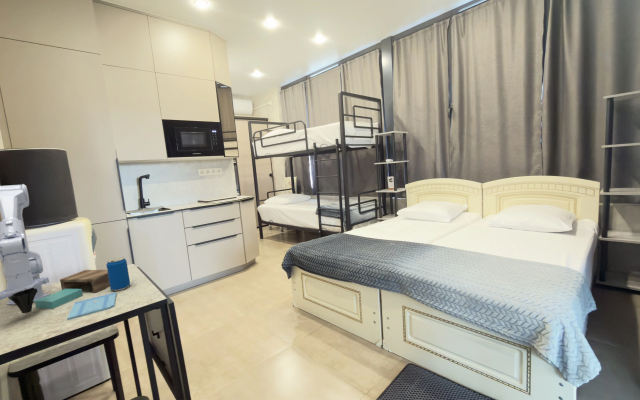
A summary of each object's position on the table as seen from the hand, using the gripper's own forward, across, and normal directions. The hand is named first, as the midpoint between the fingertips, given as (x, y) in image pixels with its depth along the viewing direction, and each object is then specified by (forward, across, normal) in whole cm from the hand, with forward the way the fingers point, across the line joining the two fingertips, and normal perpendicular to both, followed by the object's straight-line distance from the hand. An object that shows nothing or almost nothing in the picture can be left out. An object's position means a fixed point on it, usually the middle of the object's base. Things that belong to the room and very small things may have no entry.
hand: (26, 312), depth 93 cm
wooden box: (+1, +22, 0) cm, 22 cm away
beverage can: (+2, +21, -15) cm, 26 cm away
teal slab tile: (+2, +10, 0) cm, 10 cm away
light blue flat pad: (+2, +7, -18) cm, 19 cm away
